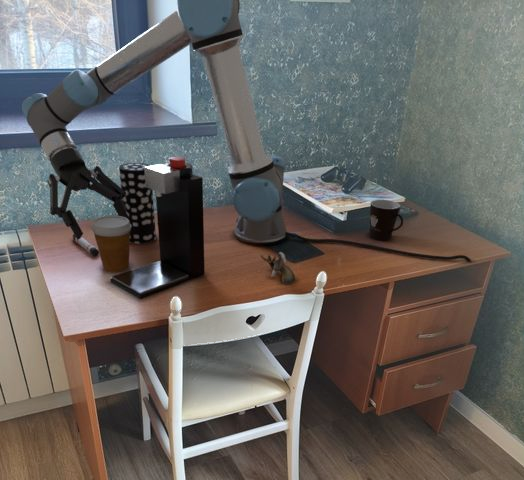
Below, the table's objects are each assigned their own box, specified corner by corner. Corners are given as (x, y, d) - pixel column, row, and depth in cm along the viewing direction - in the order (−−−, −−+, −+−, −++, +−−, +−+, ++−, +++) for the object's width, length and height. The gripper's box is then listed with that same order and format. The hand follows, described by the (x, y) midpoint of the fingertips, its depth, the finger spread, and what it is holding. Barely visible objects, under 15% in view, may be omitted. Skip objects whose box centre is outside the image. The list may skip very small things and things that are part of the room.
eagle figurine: (253, 270, 135) (272, 277, 128) (265, 244, 134) (285, 250, 127) (275, 281, 140) (295, 288, 132) (287, 255, 139) (307, 262, 132)
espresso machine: (190, 280, 131) (187, 172, 117) (140, 299, 122) (129, 184, 108) (160, 265, 138) (153, 161, 124) (110, 282, 128) (96, 172, 114)
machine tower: (207, 274, 135) (205, 168, 121) (187, 281, 131) (183, 173, 116) (177, 259, 141) (172, 158, 127) (157, 266, 137) (149, 162, 123)
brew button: (188, 167, 122) (188, 158, 121) (176, 170, 120) (176, 161, 119) (178, 164, 124) (178, 155, 123) (166, 166, 122) (165, 158, 121)
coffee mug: (362, 231, 165) (367, 199, 159) (389, 231, 166) (395, 199, 160) (372, 245, 155) (377, 212, 150) (401, 246, 156) (407, 212, 151)
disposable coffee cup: (88, 270, 134) (82, 224, 127) (111, 257, 141) (106, 212, 135) (121, 278, 131) (115, 231, 124) (142, 263, 138) (138, 218, 132)
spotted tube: (159, 234, 156) (154, 164, 145) (151, 244, 149) (146, 171, 138) (131, 232, 157) (124, 161, 146) (122, 242, 150) (114, 169, 139)
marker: (99, 255, 142) (98, 248, 141) (92, 257, 141) (91, 249, 139) (77, 237, 152) (76, 230, 150) (70, 238, 150) (69, 232, 149)
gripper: (102, 157, 144) (140, 226, 144) (12, 172, 128) (54, 249, 128) (111, 140, 138) (151, 211, 138) (18, 153, 122) (62, 234, 122)
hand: (104, 230), depth 133 cm, fingers open, 13 cm apart
